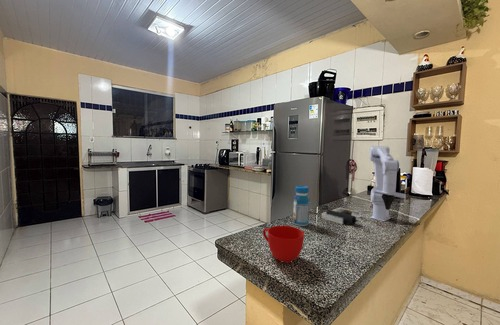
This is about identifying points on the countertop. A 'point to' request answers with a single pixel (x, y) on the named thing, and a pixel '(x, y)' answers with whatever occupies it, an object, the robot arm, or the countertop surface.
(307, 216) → the beverage bottle
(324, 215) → the aluminium bracket
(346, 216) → the pipe connector
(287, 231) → the ceramic cup
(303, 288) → the countertop surface
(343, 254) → the countertop surface
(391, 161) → the robot arm
